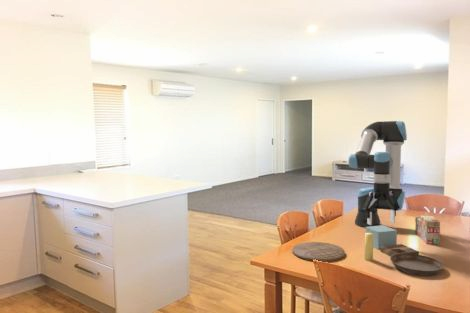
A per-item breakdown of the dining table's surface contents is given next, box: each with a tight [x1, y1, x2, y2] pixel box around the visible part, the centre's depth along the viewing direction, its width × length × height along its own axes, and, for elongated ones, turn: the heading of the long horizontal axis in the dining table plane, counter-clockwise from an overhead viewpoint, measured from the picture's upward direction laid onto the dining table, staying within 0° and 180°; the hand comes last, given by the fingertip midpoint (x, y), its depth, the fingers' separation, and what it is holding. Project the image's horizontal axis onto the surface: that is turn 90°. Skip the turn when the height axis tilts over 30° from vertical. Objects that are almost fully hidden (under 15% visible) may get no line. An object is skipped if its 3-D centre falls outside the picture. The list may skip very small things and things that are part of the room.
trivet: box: [291, 241, 346, 263], centre depth 182 cm, size 25×25×2 cm
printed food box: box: [414, 215, 441, 245], centre depth 202 cm, size 21×6×12 cm, turn 169°
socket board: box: [379, 243, 420, 257], centre depth 178 cm, size 12×12×2 cm
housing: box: [365, 224, 398, 250], centre depth 191 cm, size 11×11×9 cm
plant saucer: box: [389, 254, 444, 276], centre depth 160 cm, size 21×21×3 cm
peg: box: [364, 232, 374, 262], centre depth 171 cm, size 4×4×12 cm
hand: (380, 223), depth 190 cm, fingers open, 13 cm apart
